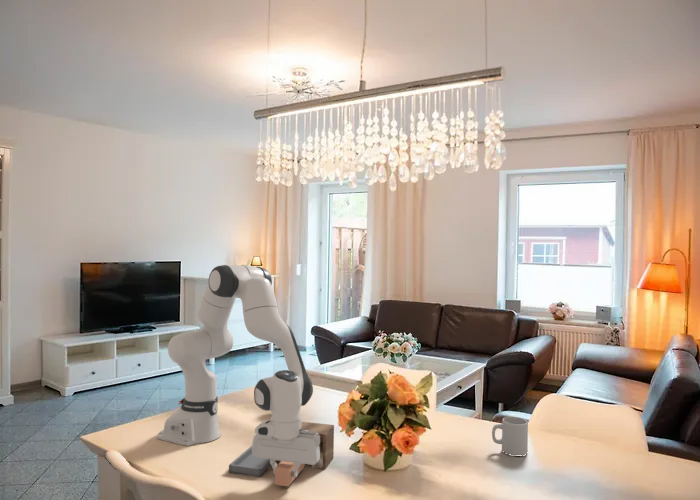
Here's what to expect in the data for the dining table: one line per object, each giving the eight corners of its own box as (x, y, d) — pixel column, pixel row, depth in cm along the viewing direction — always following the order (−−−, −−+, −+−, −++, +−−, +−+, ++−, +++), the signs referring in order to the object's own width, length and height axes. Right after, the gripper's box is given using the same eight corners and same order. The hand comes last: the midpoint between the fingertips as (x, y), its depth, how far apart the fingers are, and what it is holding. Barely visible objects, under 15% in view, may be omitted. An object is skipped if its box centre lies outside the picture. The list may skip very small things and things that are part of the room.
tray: (228, 472, 158) (228, 465, 158) (254, 449, 176) (254, 442, 176) (260, 477, 155) (260, 469, 155) (283, 453, 173) (283, 446, 173)
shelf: (278, 463, 165) (278, 429, 165) (288, 452, 174) (288, 420, 174) (325, 469, 161) (325, 434, 161) (333, 458, 170) (333, 425, 170)
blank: (275, 484, 147) (275, 467, 147) (292, 464, 161) (292, 448, 161) (288, 486, 147) (288, 468, 146) (304, 466, 160) (304, 450, 160)
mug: (524, 448, 181) (524, 417, 181) (530, 457, 173) (530, 425, 173) (489, 446, 183) (490, 415, 182) (493, 455, 174) (494, 423, 174)
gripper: (323, 427, 150) (322, 474, 150) (258, 421, 155) (258, 466, 155) (316, 435, 144) (315, 484, 144) (249, 428, 149) (249, 475, 149)
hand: (285, 475), depth 150 cm, fingers closed on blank, 4 cm apart
